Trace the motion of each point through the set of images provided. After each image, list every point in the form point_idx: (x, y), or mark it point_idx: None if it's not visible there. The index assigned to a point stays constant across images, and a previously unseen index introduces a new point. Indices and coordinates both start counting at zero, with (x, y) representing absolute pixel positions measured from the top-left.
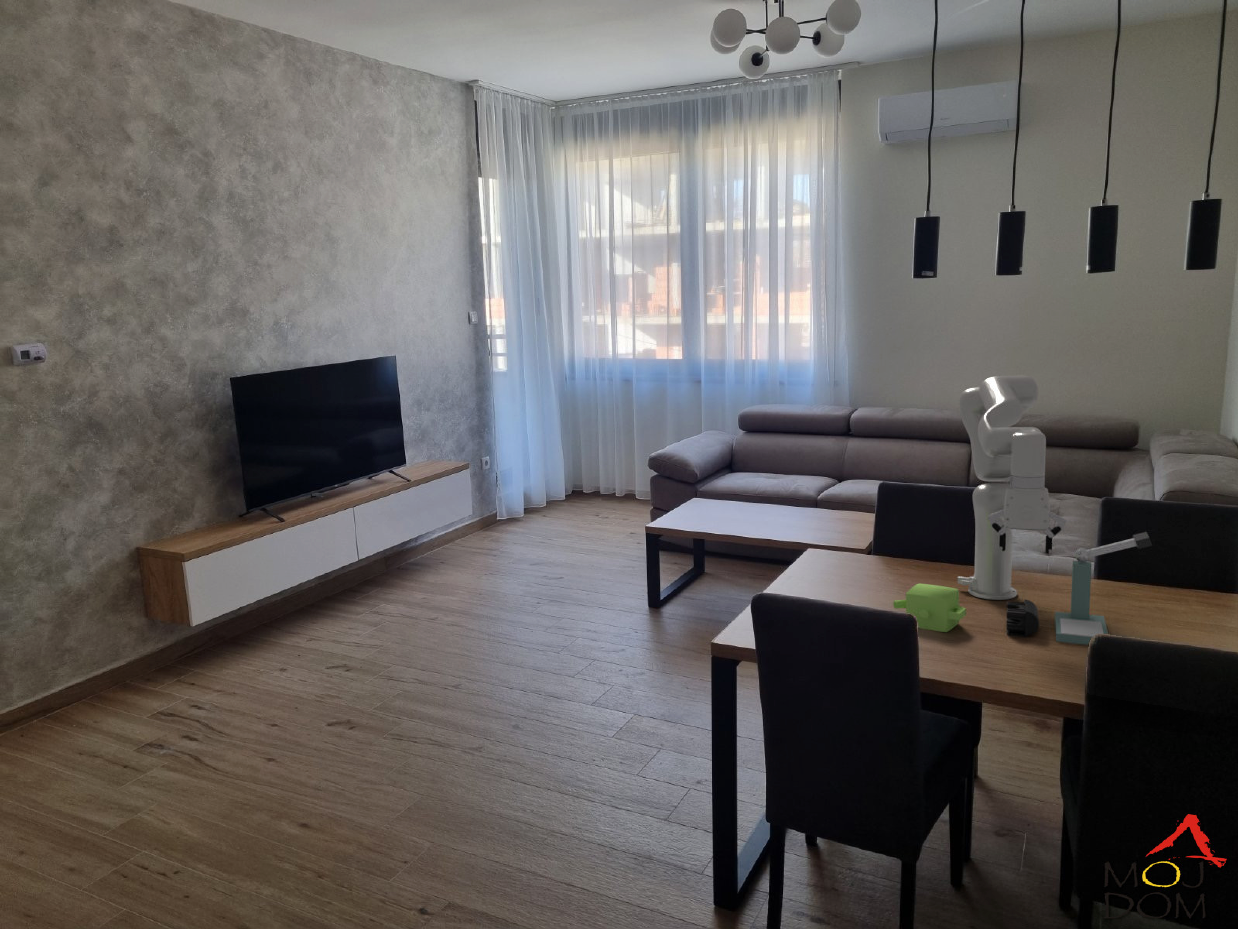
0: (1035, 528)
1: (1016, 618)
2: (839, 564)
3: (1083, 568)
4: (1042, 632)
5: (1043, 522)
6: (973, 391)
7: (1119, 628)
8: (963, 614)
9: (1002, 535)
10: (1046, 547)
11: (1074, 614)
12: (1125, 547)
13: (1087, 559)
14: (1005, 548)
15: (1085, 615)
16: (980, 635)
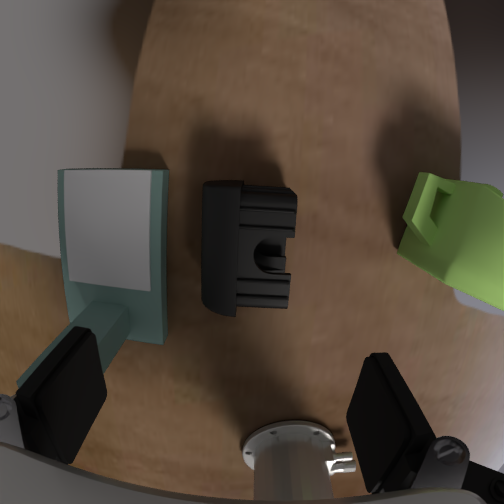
0: (61, 480)
1: (267, 191)
2: None
3: None
4: (197, 233)
5: None
6: None
7: (53, 296)
8: (413, 199)
9: (419, 448)
10: (70, 353)
11: (117, 309)
12: None
13: (15, 396)
14: (359, 388)
15: (96, 306)
16: (354, 174)
